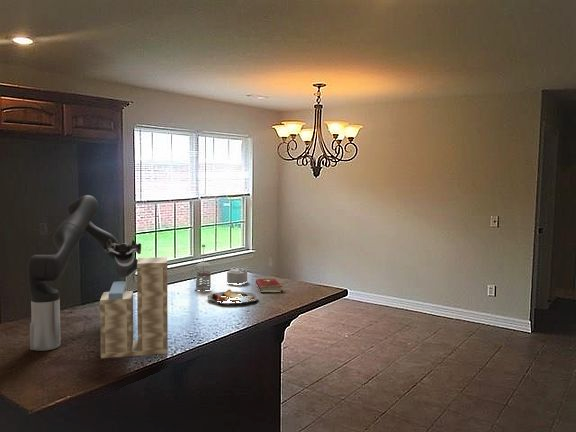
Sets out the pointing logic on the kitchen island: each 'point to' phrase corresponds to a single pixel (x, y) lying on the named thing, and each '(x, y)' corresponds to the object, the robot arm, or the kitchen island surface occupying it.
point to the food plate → (231, 296)
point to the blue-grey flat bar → (117, 290)
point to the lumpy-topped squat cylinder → (237, 275)
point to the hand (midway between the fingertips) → (121, 242)
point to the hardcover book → (268, 284)
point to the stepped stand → (149, 314)
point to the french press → (203, 273)
